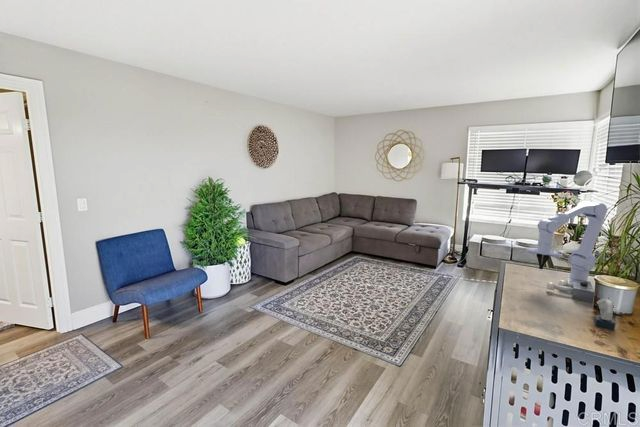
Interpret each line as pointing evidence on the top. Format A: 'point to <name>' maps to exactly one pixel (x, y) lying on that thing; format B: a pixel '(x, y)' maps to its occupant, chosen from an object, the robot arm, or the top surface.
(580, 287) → the mount
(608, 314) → the grey bust statue
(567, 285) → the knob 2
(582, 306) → the top surface
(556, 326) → the top surface
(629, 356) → the top surface
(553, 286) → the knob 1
